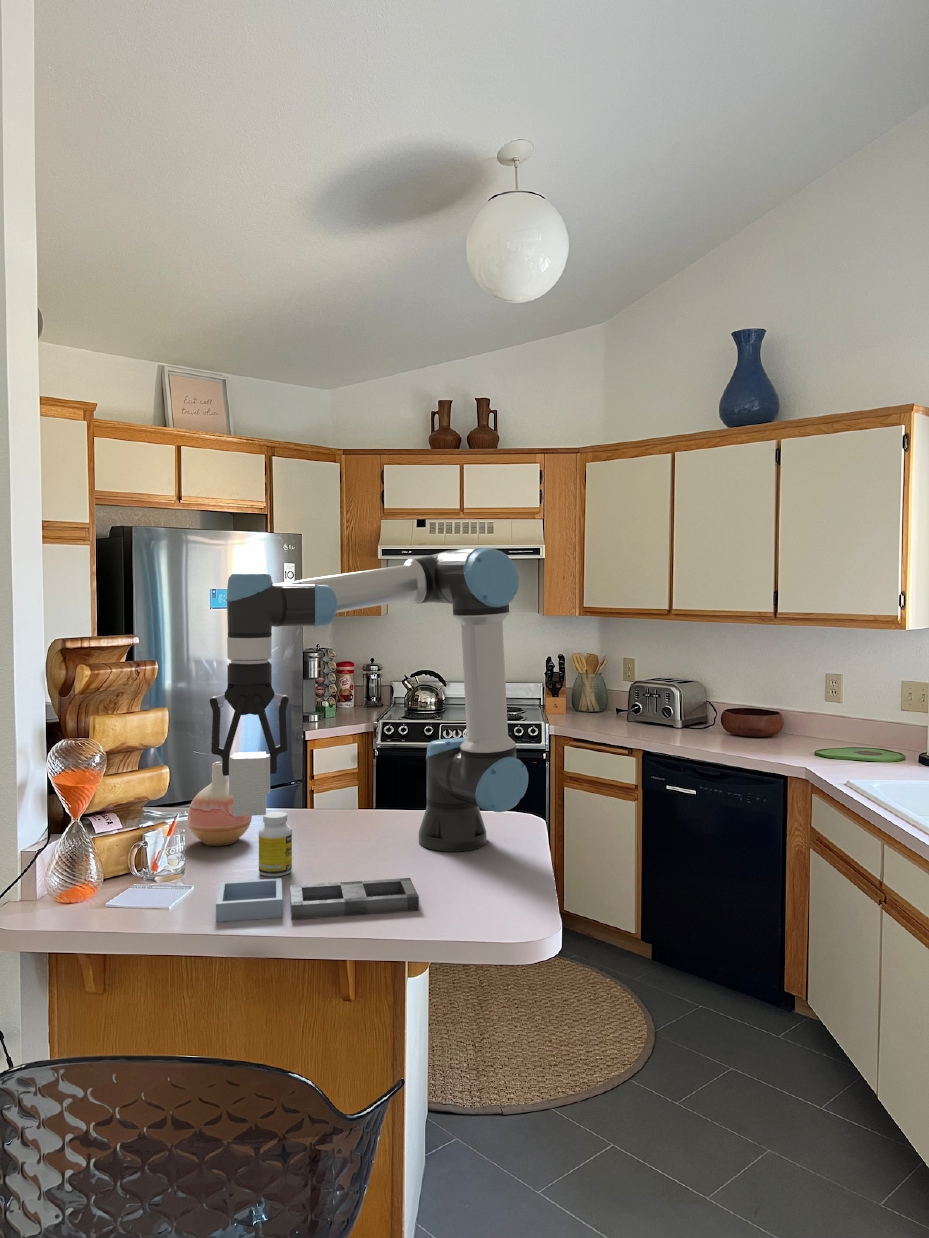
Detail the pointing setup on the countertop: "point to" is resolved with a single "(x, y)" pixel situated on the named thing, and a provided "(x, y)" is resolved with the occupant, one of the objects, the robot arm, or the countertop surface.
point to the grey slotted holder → (353, 898)
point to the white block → (249, 783)
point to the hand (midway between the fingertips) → (249, 792)
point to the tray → (249, 900)
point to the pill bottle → (275, 845)
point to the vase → (216, 813)
